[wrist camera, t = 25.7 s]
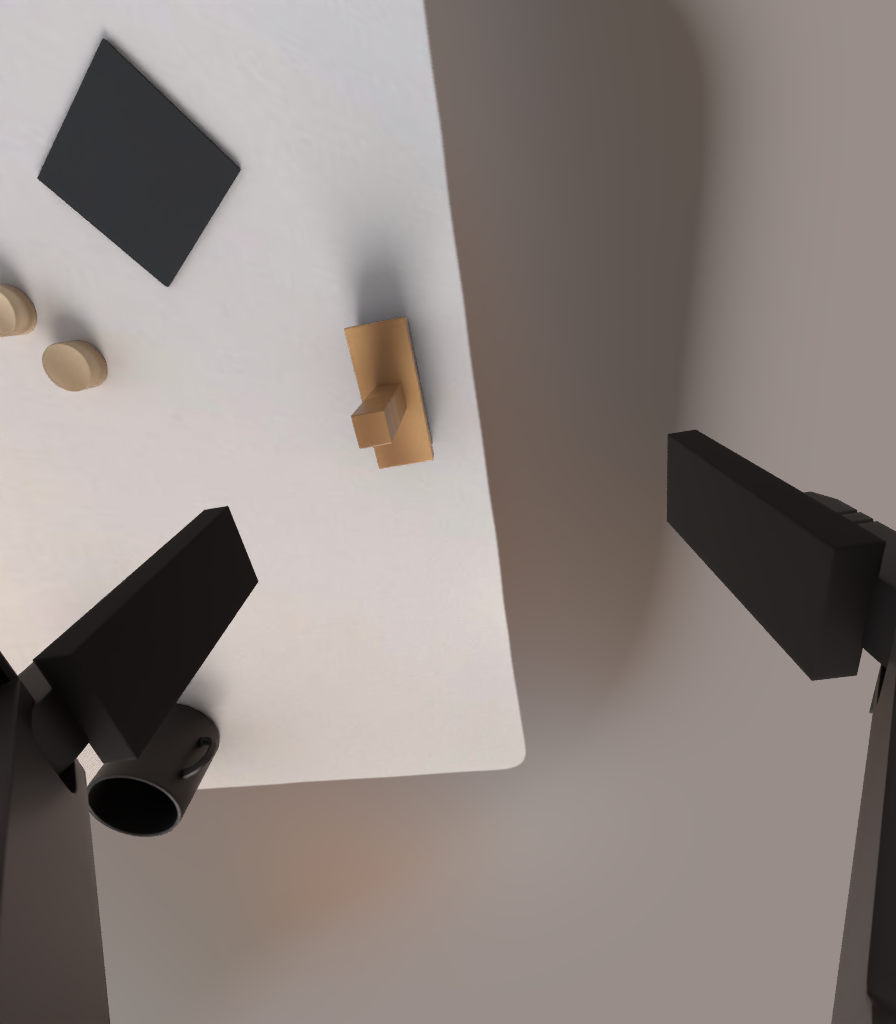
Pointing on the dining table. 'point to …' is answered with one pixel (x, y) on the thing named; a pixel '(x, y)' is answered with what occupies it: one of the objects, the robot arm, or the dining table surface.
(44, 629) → the dining table surface
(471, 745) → the dining table surface
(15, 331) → the disc
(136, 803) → the mug
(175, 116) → the mat
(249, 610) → the dining table surface
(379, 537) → the dining table surface
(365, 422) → the wooden t-shaped block
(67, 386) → the disc
